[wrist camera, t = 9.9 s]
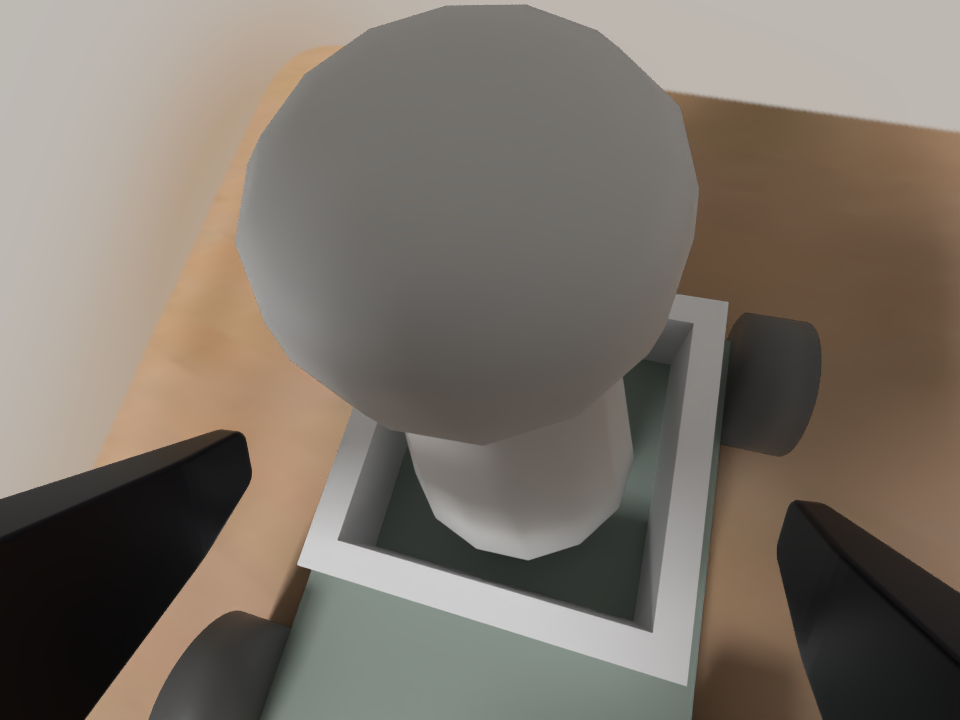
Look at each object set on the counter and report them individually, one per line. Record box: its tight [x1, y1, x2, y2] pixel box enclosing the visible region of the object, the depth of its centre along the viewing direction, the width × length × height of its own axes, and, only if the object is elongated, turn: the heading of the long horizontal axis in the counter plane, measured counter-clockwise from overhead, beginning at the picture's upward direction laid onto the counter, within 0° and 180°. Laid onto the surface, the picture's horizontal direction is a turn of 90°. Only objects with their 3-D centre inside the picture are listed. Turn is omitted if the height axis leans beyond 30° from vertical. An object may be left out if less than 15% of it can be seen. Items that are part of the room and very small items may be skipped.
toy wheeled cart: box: [149, 294, 821, 720], centre depth 15 cm, size 16×14×4 cm
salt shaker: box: [235, 5, 699, 560], centre depth 10 cm, size 6×6×13 cm
